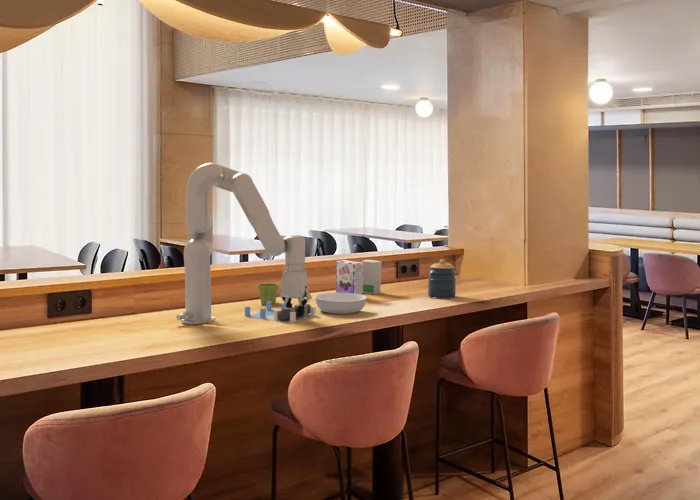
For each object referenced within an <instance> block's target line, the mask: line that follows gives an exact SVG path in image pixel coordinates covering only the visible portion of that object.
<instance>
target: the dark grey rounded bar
mask: <svg viewBox="0 0 700 500" xmlns="http://www.w3.org/2000/svg"><path fill="white" fill-rule="evenodd" d="M298 306H299V303H298V304H294V306H292V308H287V307H286V308H283V310H281V309H280V310H281V311H279V312H278V319H279V320H280V321H285V320H290V312H296V317H299V316H298ZM310 307H312V305H311V304H309V303H306V305H304V315H303V316H300V317H306V316H307V314H310ZM280 321H279V322H280Z"/></svg>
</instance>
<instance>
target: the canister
mask: <svg viewBox="0 0 700 500" xmlns="http://www.w3.org/2000/svg"><path fill="white" fill-rule="evenodd" d="M456 273H457V271H456V270H455V266H454V265H453V264H452V263H448V262H446V260H445V259H444V258H442V259H439V262H436V263H433V264H431V265H430V269H429V270H428V274H429V276H428V277H427V279H428V281H427V282H428V287H427V295H428V297H429V296H430V297H429V298H432V297H436V298H435V299H443V298H446V299H453V298H452V297H454V298H455V297H456V294H457V292H456V290H457V289H456V286H457V284H456V283H457V282H456V281H457V277H456Z"/></svg>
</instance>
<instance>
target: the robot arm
mask: <svg viewBox="0 0 700 500" xmlns="http://www.w3.org/2000/svg"><path fill="white" fill-rule="evenodd" d="M190 173H191V174H190V175H189V177H188V179H187V182H186V187H185V189H186V190H185V217H184V224H185V227H186V229H187V242H186V244H184V245H185V246H184V249H183V262H184V263H183V264H184V265H183V267H184V292H185V295H184V296H185V297H184V298H185V299H184V300H185V301H184V303H185V304H184V306H185V310H183V312H182V313H181V314H177V315H176V320H178V321H180V320H181V321H180V322H181V323H182V324H186V325H187V324H188V325H207V324H208V323H209V322H212V321H215V320H216V316H213V315H212V281H211V280H212V276H211V275H212V273H211V269H212V268H211V254H212V253H213V245H214V244H213V231H214V230H213V228H214V227H213V226H214V225H213V217H212V215H211V213H210V190H211V188H212V187H215V188H218V189H221V190H223V191H227V192H230V193H233V196H234V197H235V199H236V200H237V203H238V204H239V205H240V208H241V209H242V211H243V214H244V215H245V217H246V218H247V221H248V222H249V223H250V226H251V227H252V229H253V231H254V232H255V234H256V236H257V238H258V239H259V241H260V243H261V245H262V246H263V248H264V250H265V252H266V253H267V254H268V255H269V256H272V257H278V256H281V255H282V254H285V255H284V257H285V258H284V259H285V261H284V262H285V263H283V265H282V266H283V268H284V269H285V270H283V272H282V277H281V281H280V282H281V283H280V292H279V293H278V296H279V297H280V298H281V300H282V301H283V303H285V304H286V307H287V308H293V303H292V300H293V299H297V300H298V304H299V306H298V316H303V315H304V305H306V304H308V302H309V301H310V300H312V299H313V298H312V297H313V296H312V295H311V293H310V292H309V279H308V273H307V271H306V238H305V236H303V235H297V234H296V235H295V234H294V235H293V234H292V235H282V234H280V232H279V230H278V229H277V227H276V225H275V223H274V221H273V219H272V217H271V213H270V211H269V209H268V206H267V205H266V203H265V201H264V199H263V198H262V196H261V193H260V192H259V190H258V188H257V186H256V184H255V183H254V180H253V179H252V177H251V176H250V174H248V173H245V172H242V171H238V170H234V169H232V168H229V167H226V166H224V165H220V164H218V163H215V162H207V163H203V164H201V165H200V166H198V167H197V168H195V169H194V170H193V171H192V172H190Z"/></svg>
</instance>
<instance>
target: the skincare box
mask: <svg viewBox="0 0 700 500" xmlns="http://www.w3.org/2000/svg"><path fill="white" fill-rule="evenodd" d="M360 263H363V294H367V293H368V294H370V295H377V293H378V294H380V293H381V287H382V263H383V262H382V261H381V260H373V259H364V260H361V262H360Z"/></svg>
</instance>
